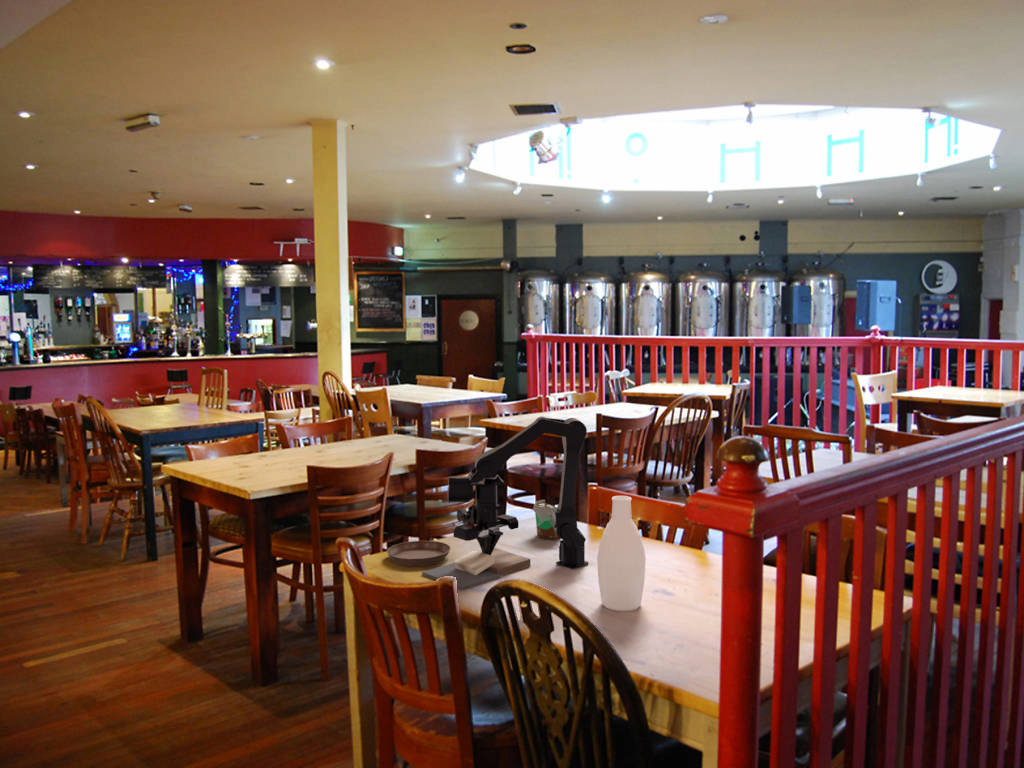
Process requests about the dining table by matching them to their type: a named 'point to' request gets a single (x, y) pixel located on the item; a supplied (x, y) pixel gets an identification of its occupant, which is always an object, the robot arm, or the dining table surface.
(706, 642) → the dining table surface
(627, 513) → the bottle
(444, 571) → the bar mat
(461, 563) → the coaster
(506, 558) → the serving board
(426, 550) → the plant saucer
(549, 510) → the food container
